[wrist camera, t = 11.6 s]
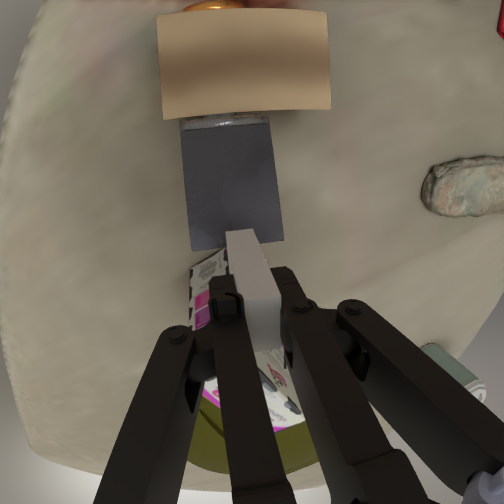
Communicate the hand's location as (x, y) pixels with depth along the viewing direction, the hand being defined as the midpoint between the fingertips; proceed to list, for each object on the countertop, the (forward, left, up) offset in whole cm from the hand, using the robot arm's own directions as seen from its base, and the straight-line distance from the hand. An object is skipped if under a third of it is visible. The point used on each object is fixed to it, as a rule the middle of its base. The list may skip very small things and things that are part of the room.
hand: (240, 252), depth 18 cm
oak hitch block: (-11, -4, -15) cm, 19 cm away
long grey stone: (-20, +36, -16) cm, 44 cm away
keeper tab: (-3, -1, -5) cm, 6 cm away
